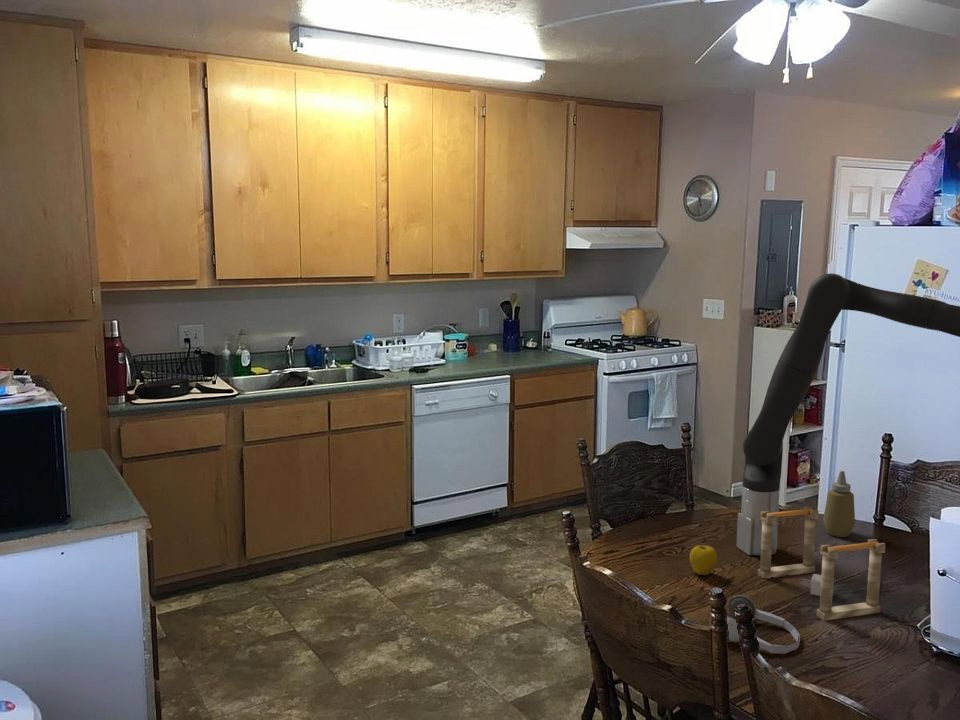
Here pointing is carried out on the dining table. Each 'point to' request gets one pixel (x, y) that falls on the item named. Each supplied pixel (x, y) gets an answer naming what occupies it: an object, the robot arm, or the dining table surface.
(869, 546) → the orange rod
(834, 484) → the squeeze bottle
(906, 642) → the dining table surface
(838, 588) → the dining table surface
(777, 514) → the orange wooden rod
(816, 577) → the usb wall charger
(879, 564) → the wooden parallette bars
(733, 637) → the headphones
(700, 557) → the apple
